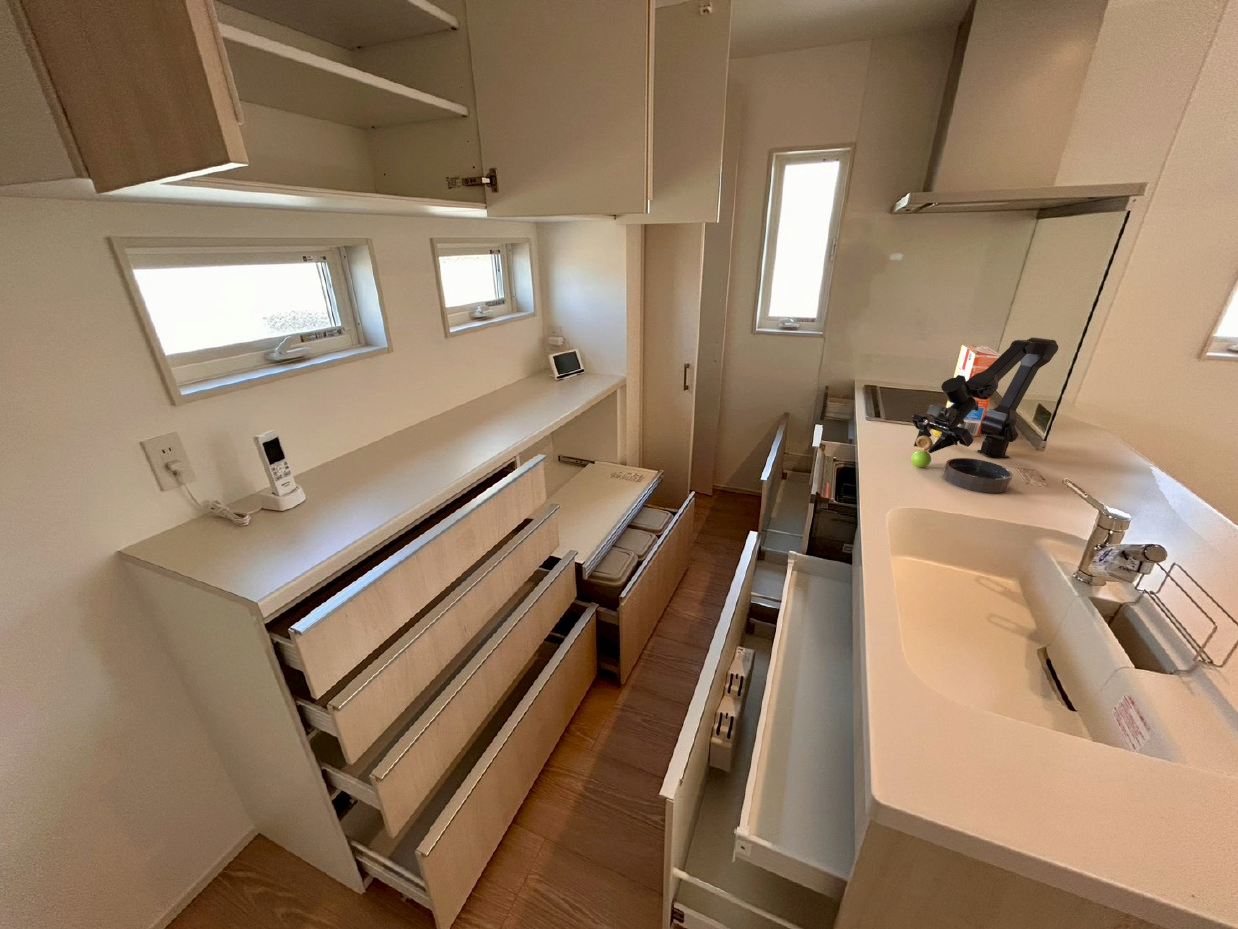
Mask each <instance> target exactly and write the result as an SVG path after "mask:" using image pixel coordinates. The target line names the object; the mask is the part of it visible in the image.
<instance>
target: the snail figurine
mask: <svg viewBox="0 0 1238 929" xmlns="http://www.w3.org/2000/svg"><path fill="white" fill-rule="evenodd" d="M939 435H941V433H940V434H939ZM916 438H917V437H916ZM939 438H940V437H938V436H937V437H935V436H934V441H933V440H932V438H931V437H928V436H920V437H918V438H917V440H916V439H915V441H916V444H917V446H918V447H917V446H915V447H914V448H915V449H916V451H915V452H913V453H912V454H911V458H910V460H911V461H910V462H911V463H912V464H913V465H914V466H915V467H917V468H925V467H927V466H929V465H930V464H931V462H932V456H931V453H929V452H928V451H929V449H930V448H931V447H932V446H933V444H934V443H935V442H936V441H937V440H938V439H939Z"/></svg>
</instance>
